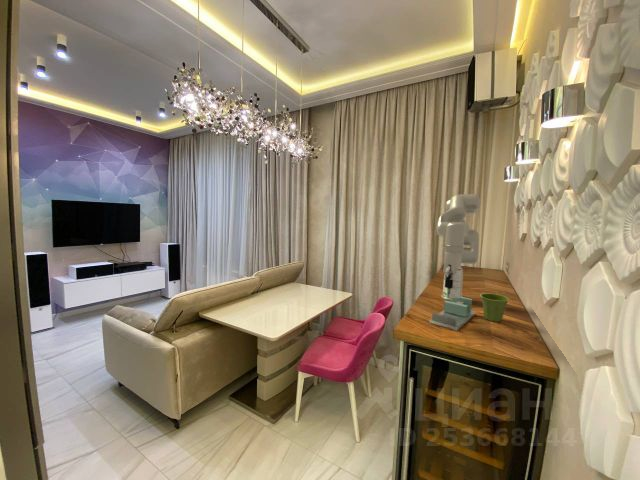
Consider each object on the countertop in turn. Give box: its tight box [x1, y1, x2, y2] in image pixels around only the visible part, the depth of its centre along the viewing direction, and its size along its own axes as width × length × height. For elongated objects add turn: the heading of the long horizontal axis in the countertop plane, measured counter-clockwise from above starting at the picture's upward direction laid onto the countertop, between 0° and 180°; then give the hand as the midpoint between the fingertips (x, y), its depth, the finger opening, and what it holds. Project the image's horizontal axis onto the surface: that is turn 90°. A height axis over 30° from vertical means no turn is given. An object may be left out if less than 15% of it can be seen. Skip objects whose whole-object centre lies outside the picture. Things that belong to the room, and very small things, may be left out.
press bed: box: [429, 309, 476, 331], centre depth 130 cm, size 28×12×4 cm, turn 136°
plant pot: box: [479, 292, 510, 323], centre depth 129 cm, size 12×12×11 cm
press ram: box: [443, 296, 473, 317], centre depth 135 cm, size 12×10×6 cm
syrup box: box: [442, 267, 463, 298], centre depth 125 cm, size 6×6×14 cm
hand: (451, 285), depth 125 cm, fingers closed on syrup box, 8 cm apart
